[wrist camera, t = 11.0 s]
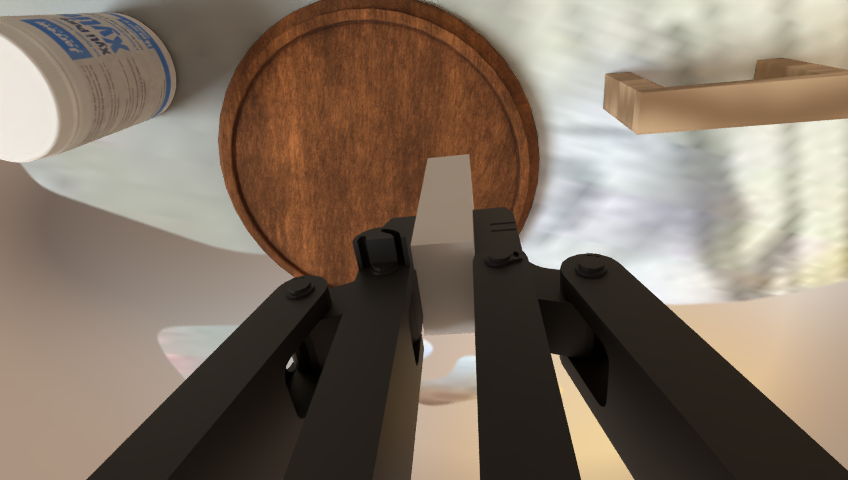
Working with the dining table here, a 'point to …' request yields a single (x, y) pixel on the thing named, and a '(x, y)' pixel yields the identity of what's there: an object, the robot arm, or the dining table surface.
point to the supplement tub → (77, 80)
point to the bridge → (730, 99)
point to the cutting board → (366, 127)
